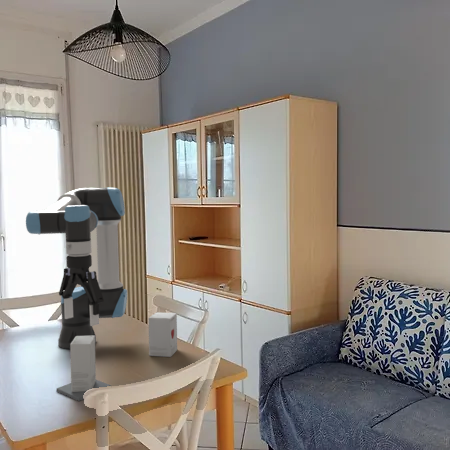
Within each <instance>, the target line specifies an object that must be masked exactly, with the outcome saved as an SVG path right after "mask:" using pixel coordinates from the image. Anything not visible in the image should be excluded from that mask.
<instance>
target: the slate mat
mask: <svg viewBox="0 0 450 450" xmlns="http://www.w3.org/2000/svg"><path fill="white" fill-rule="evenodd" d="M107 386H111V387H112V385H111V384H108V383H106V382H104V381H101V380H98V379H96V382H95V384H94V387H93V388H99V387H107ZM55 391H56V392H57V391H58V392H57V393H59V392H60V393H59V394H61V393H62V395H63V394H64V396H66V395H67V396H66V397H68V398H70V397H71V399H73V400H75V401H77V400H78V401H77V402H81V401H83V400H84V399H83V395H84V393H85V392H71V383H68V384H65V385H64V384H63V386H62V385H61V386H60V387H56V390H55ZM80 400H81V401H80Z"/></svg>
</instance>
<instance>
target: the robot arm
mask: <svg viewBox="0 0 450 450" xmlns="http://www.w3.org/2000/svg"><path fill="white" fill-rule="evenodd" d="M125 210H126V207H125V201H124V197H123V193H122V191H121V189H119V188H117V187H82V188H81V187H80V188H76V189H73V190H71V191H68V192H65V193H63V194H62V195H61V196H59V197H58V199H57V200H56V202H54V203H52V204H51V205H49V206H48V207H46V208H45V209H42V210H40V211H39V210H35V211H34V210H33V211H28V213H27V215H26V217H25V227H26V231H27V232H28V233H29V234H31V235H45V234H46V235H47V234H48V235H50V234H51V235H52V234H55V235H56V234H65V249H66V250H65V251H66V252H65V254H66V255H67V256H66V267H65V268H63V276H62V280H61V284H60V287H59V291H58V295H59V296H60V297H61V298H60V308H61V309H60V310H61V330H60V333H59V336H58V339H57V342H58V343H57V344H58V345H57V346H58V347H59V348H61V349H69V350H70V344H71V342H72V341H73V340H74V338H75V337H76V336H92V335H95V344H96V342H97V335H96V333H95V330H94V327H93V326H97V325H100V319H115V318H121V317H124V315H125V312H126V308H127V303H128V289H126V288H124V284H123V282H121V281H120V264H119V263H120V260H119V259H120V258H119V233H118V232H119V231H118V230H119V229H118V227H119V225H118V224H119V223H120V222H121V221H122V217H123V216H125V214H126V211H125ZM95 229H96V255H97V257H96V258H97V272H96V271H95V270H94V271H90V267H92V265H93V264H92V263H93V260H92V255H91V253H92V239H91V238H92V237H91V236H92V235H91V233H92V232H93V231H95ZM77 285H79V286H78V287H77Z"/></svg>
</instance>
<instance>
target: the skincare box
mask: <svg viewBox="0 0 450 450" xmlns="http://www.w3.org/2000/svg"><path fill="white" fill-rule="evenodd" d="M95 335H96V334H95ZM95 335H92V336H76V337H75V338H74V340H73V341H72V342H71V344H70V349H69V350H70V353H69V354H70V382H71V392H86V391H87V390H89V389H92V388H93V387H94V384H95V382H96V380H97V377H96V375H97V374H96V343H95Z"/></svg>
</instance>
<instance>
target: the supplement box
mask: <svg viewBox="0 0 450 450" xmlns="http://www.w3.org/2000/svg"><path fill="white" fill-rule="evenodd" d="M177 317H178V314H177V313H176V312H155V313H153V314H152V315H150V316H149V317H148V356H149V357H164V358H165V357H168V358H172V356H173V355H174V354H175V353H176V352H177V351H178V319H177Z"/></svg>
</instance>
